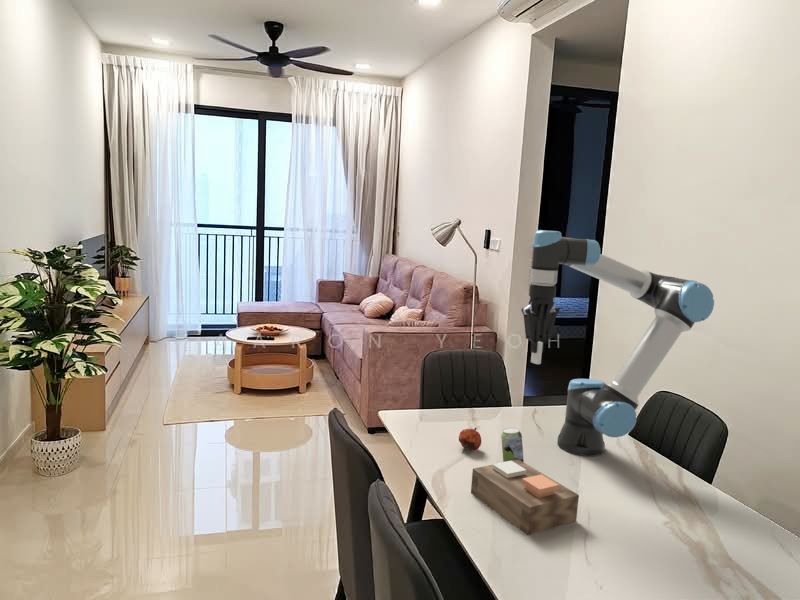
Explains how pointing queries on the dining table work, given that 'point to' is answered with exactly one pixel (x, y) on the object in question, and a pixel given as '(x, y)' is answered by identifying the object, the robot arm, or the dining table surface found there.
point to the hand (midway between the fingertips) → (535, 362)
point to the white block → (509, 469)
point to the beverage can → (512, 445)
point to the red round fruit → (470, 439)
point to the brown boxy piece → (524, 499)
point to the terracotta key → (540, 486)
